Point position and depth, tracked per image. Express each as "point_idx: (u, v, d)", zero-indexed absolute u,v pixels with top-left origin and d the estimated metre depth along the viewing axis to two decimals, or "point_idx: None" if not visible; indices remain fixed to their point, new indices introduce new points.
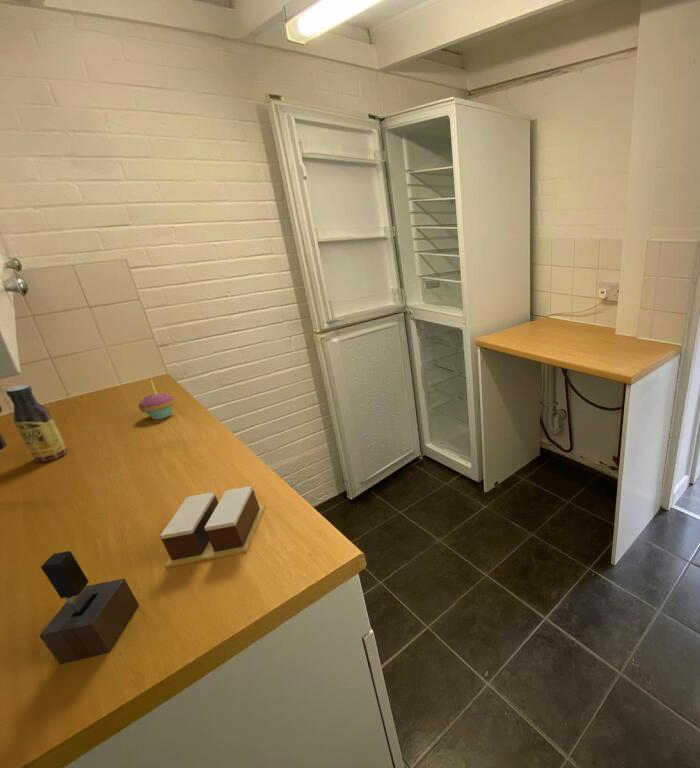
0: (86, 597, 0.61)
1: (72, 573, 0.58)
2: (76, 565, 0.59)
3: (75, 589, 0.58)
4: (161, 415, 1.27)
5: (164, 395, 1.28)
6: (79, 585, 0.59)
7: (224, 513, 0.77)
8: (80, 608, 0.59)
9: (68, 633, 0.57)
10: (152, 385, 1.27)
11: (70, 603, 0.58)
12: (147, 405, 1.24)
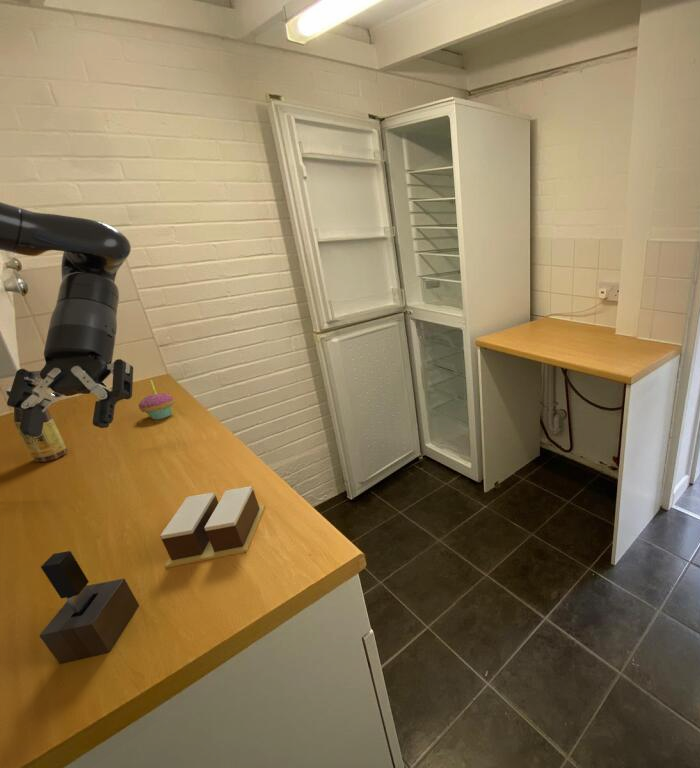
0: (86, 597, 0.61)
1: (72, 573, 0.58)
2: (76, 565, 0.59)
3: (75, 589, 0.58)
4: (161, 415, 1.27)
5: (164, 395, 1.28)
6: (79, 585, 0.59)
7: (224, 513, 0.77)
8: (80, 608, 0.59)
9: (68, 633, 0.57)
10: (152, 385, 1.27)
11: (70, 603, 0.58)
12: (147, 405, 1.24)
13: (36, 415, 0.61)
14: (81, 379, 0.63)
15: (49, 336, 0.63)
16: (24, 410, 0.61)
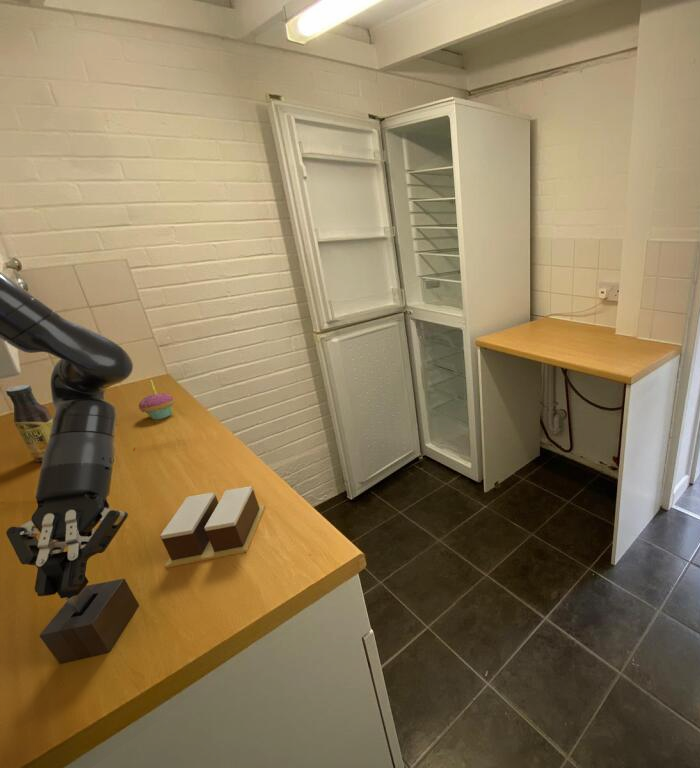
0: (86, 597, 0.61)
1: None
2: None
3: None
4: (161, 415, 1.27)
5: (164, 395, 1.28)
6: None
7: (224, 513, 0.77)
8: (80, 608, 0.59)
9: (68, 633, 0.57)
10: (152, 385, 1.27)
11: (70, 603, 0.58)
12: (147, 405, 1.24)
13: None
14: (67, 527, 0.58)
15: (42, 478, 0.59)
16: (39, 567, 0.57)
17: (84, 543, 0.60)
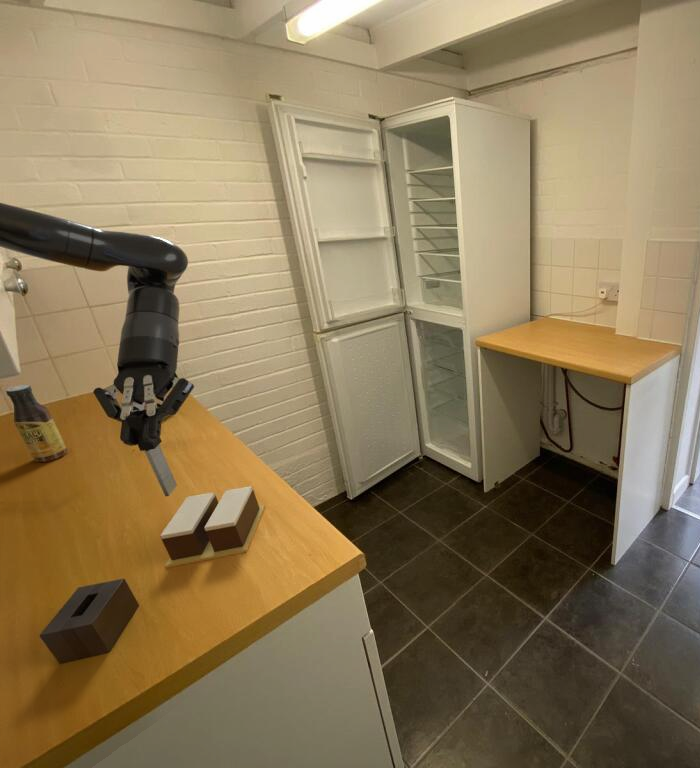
0: (159, 455, 0.69)
1: None
2: None
3: (152, 443, 0.67)
4: None
5: None
6: None
7: (224, 513, 0.77)
8: (156, 462, 0.68)
9: (68, 633, 0.57)
10: None
11: (148, 455, 0.67)
12: None
13: None
14: (145, 389, 0.67)
15: (122, 347, 0.67)
16: (122, 421, 0.65)
17: (158, 406, 0.68)
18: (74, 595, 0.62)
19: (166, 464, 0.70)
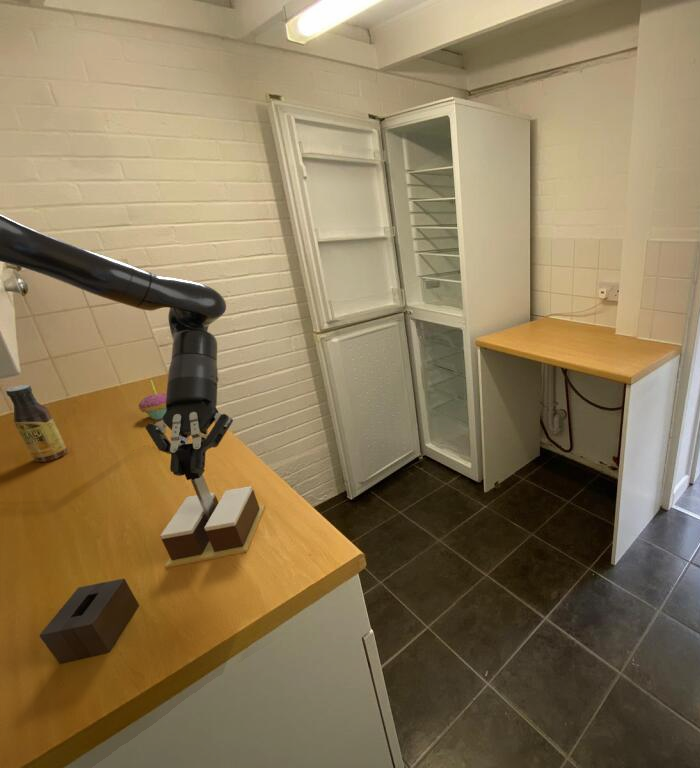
0: (202, 483, 0.77)
1: None
2: None
3: (197, 473, 0.74)
4: (161, 415, 1.27)
5: (164, 395, 1.28)
6: None
7: (224, 513, 0.77)
8: (200, 489, 0.76)
9: (68, 633, 0.57)
10: (152, 385, 1.27)
11: (193, 484, 0.75)
12: (147, 405, 1.24)
13: None
14: (191, 425, 0.74)
15: (170, 387, 0.75)
16: (172, 454, 0.73)
17: (202, 439, 0.76)
18: (74, 595, 0.62)
19: (207, 490, 0.78)
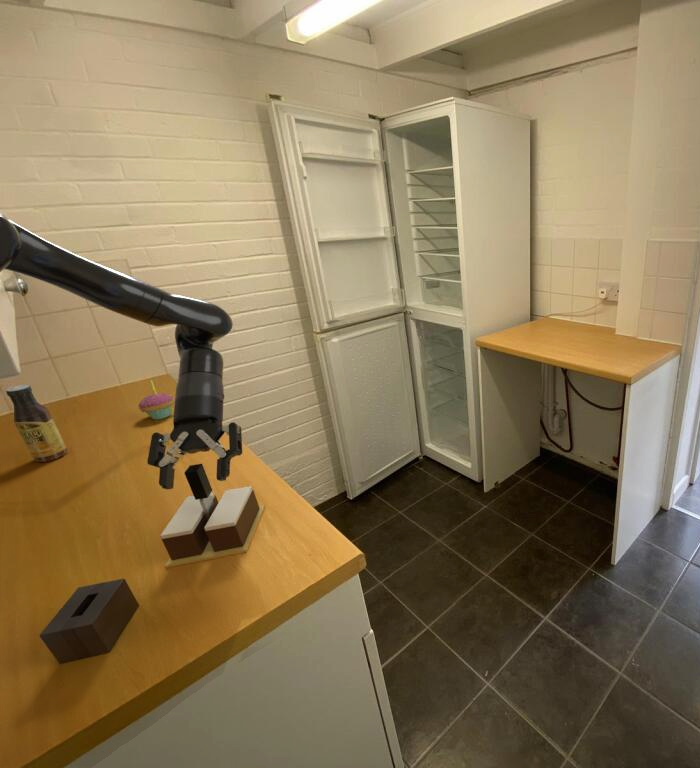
0: (210, 502, 0.79)
1: (204, 480, 0.76)
2: (205, 475, 0.77)
3: (206, 493, 0.76)
4: (161, 415, 1.27)
5: (164, 395, 1.28)
6: (207, 490, 0.77)
7: (224, 513, 0.77)
8: (208, 508, 0.78)
9: (68, 633, 0.57)
10: (152, 385, 1.27)
11: (202, 504, 0.76)
12: (147, 405, 1.24)
13: (170, 471, 0.75)
14: (205, 441, 0.76)
15: (178, 405, 0.76)
16: (161, 467, 0.74)
17: None
18: (74, 595, 0.62)
19: None
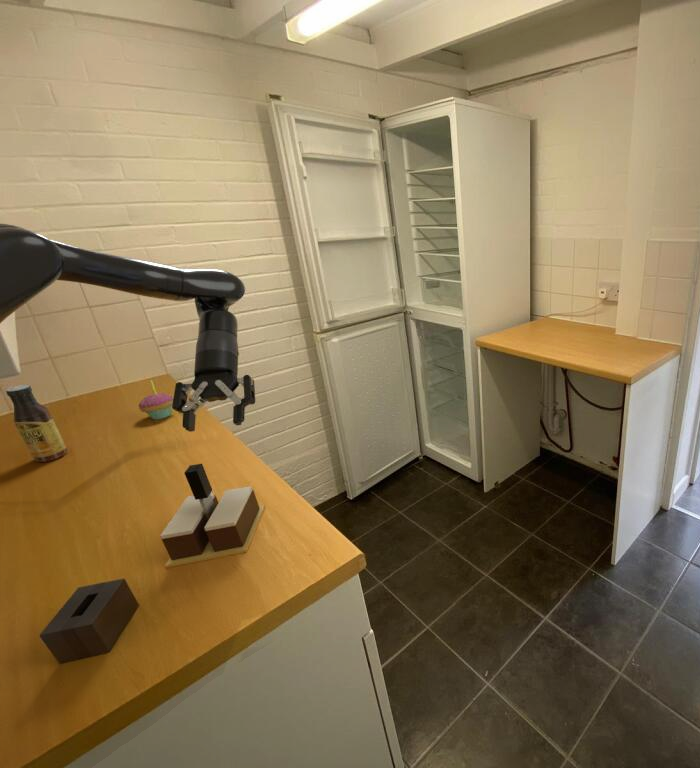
0: (210, 502, 0.79)
1: (204, 480, 0.76)
2: (205, 475, 0.77)
3: (206, 493, 0.76)
4: (161, 415, 1.27)
5: (164, 395, 1.28)
6: (207, 490, 0.77)
7: (224, 513, 0.77)
8: (208, 508, 0.78)
9: (68, 633, 0.57)
10: (152, 385, 1.27)
11: (202, 504, 0.76)
12: (147, 405, 1.24)
13: (191, 416, 0.84)
14: (222, 389, 0.86)
15: (198, 358, 0.86)
16: (184, 412, 0.84)
17: None
18: (74, 595, 0.62)
19: None
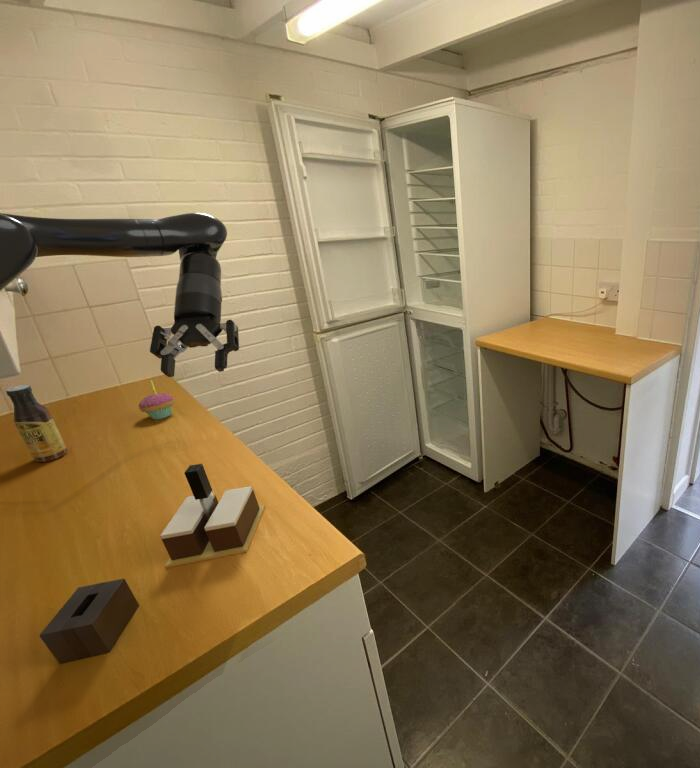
0: (210, 502, 0.79)
1: (204, 480, 0.76)
2: (205, 475, 0.77)
3: (206, 493, 0.76)
4: (161, 415, 1.27)
5: (164, 395, 1.28)
6: (207, 490, 0.77)
7: (224, 513, 0.77)
8: (208, 508, 0.78)
9: (68, 633, 0.57)
10: (152, 385, 1.27)
11: (202, 504, 0.76)
12: (147, 405, 1.24)
13: (171, 360, 0.80)
14: (203, 334, 0.81)
15: (178, 300, 0.81)
16: (162, 356, 0.79)
17: None
18: (74, 595, 0.62)
19: None
